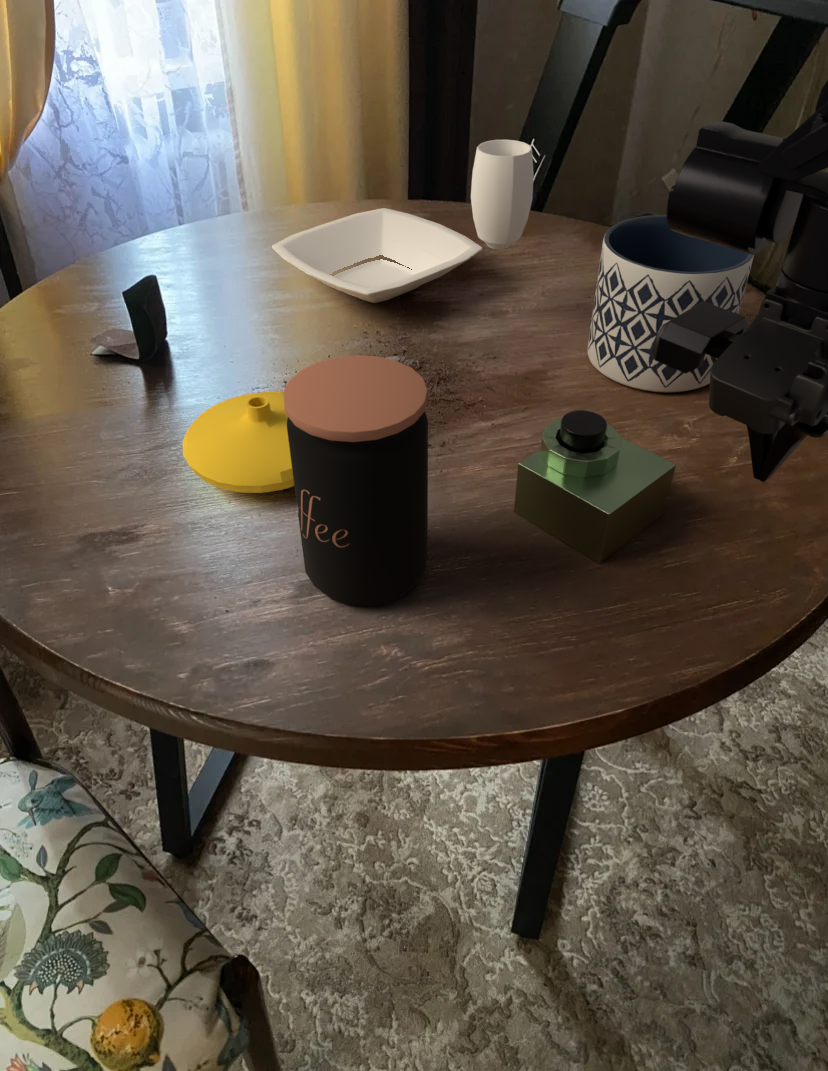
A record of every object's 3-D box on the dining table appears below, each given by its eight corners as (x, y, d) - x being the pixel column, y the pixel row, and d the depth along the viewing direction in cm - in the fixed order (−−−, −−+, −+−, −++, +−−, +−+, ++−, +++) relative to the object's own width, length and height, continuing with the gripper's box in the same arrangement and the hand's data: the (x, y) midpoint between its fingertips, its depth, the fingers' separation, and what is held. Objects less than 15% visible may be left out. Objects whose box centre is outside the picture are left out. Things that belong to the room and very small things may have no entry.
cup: (511, 301, 112) (523, 135, 98) (530, 326, 106) (545, 154, 93) (459, 307, 110) (464, 140, 97) (475, 333, 105) (483, 160, 91)
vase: (155, 485, 82) (139, 425, 78) (243, 405, 93) (233, 348, 88) (294, 528, 77) (286, 466, 73) (370, 438, 88) (367, 379, 83)
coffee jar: (292, 543, 76) (268, 368, 64) (404, 518, 78) (401, 344, 66) (322, 626, 68) (301, 444, 56) (445, 594, 71) (449, 414, 59)
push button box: (664, 513, 79) (680, 447, 74) (599, 564, 73) (612, 497, 69) (575, 465, 84) (585, 401, 79) (509, 509, 79) (515, 444, 74)
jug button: (613, 441, 75) (616, 422, 74) (585, 460, 73) (588, 440, 72) (577, 423, 77) (580, 404, 76) (549, 441, 75) (552, 422, 74)
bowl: (261, 286, 116) (256, 245, 112) (388, 240, 128) (386, 202, 124) (365, 343, 103) (363, 300, 100) (495, 287, 115) (497, 246, 111)
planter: (622, 405, 93) (645, 281, 83) (565, 338, 104) (579, 223, 95) (750, 384, 96) (786, 262, 86) (680, 321, 107) (706, 208, 98)
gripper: (625, 267, 52) (591, 469, 62) (935, 380, 42) (833, 598, 52) (721, 219, 58) (675, 411, 68) (1014, 308, 48) (908, 518, 58)
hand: (761, 478), depth 61 cm, fingers closed
